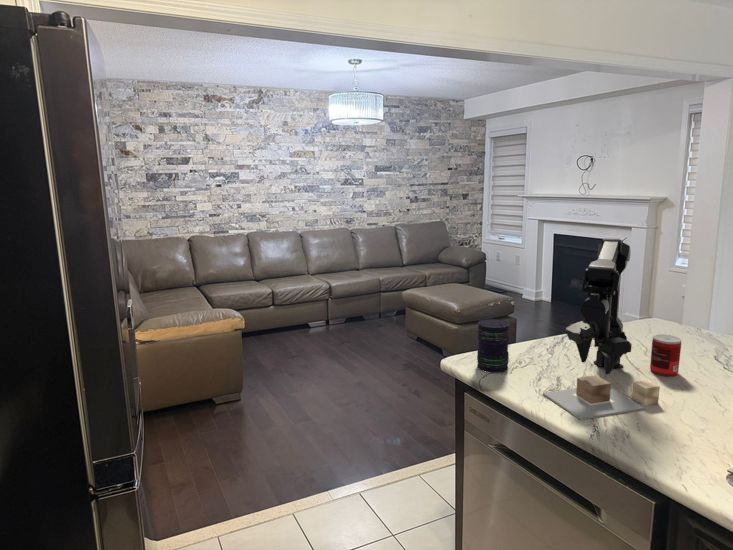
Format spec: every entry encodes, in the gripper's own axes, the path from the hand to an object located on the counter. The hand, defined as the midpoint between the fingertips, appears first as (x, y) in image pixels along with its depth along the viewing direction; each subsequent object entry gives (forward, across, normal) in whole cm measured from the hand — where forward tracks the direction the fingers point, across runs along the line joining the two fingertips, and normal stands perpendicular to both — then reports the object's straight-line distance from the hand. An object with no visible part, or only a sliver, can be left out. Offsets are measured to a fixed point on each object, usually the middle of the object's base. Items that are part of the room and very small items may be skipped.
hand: (594, 367), depth 137 cm
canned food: (+9, -10, +34) cm, 37 cm away
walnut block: (+9, 0, 0) cm, 9 cm away
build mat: (+9, +1, -1) cm, 9 cm away
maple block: (+9, +5, +13) cm, 17 cm away
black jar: (+10, -30, -14) cm, 35 cm away
